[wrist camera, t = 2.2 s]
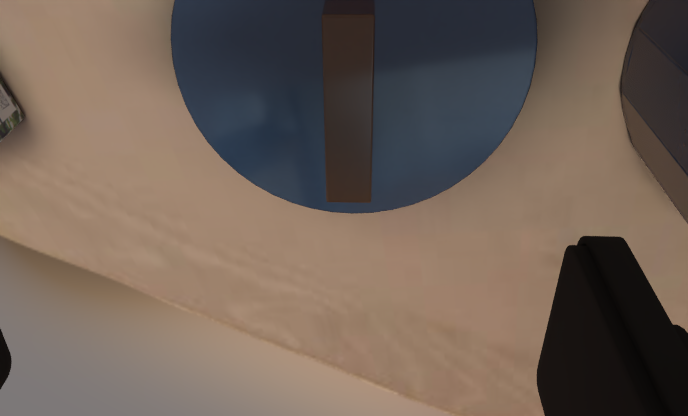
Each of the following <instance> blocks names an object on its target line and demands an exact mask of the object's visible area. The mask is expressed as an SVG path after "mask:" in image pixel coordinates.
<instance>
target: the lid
mask: <svg viewBox="0 0 688 416" xmlns="http://www.w3.org/2000/svg"><path fill="white" fill-rule="evenodd" d="M171 48H172V58H173V65H174V69H175V74H176V78H177V82H178V86H179V88H180V91H181V94H182V97H183V99H184V102H185V105H186V107H187V109H188V111H189V113H190V114H191V116H192V118H193V120H194V122H195V124H196V126H197V127H198V129H199V130H200V131H201V133H202V134H203V136H204V137H205V139H206V140H207V142H208V143H209V144H210V145H211V146H212V148H213V149H214V150H215V151H216V152H217V153H218V154H219V155H220V157H221V158H222V159H223V160H224V161H226V162H227V163H228V164H229V165H230V166H231V167H232V168H233V169H234V170H236V171H237V172H238V173H239V174H241V175H242V176H243V177H245V178H246V179H248V180H249V181H250V182H252V183H253V184H255V185H256V186H258V187H260V188H262V189H264V190H265V191H267V192H269V193H271V194H273V195H275V196H277V197H280V198H282V199H285V200H287V201H289V202H292V203H295V204H298V205H302V206H305V207H309V208H312V209H318V210H323V211H329V212H339V213H373V212H380V211H387V210H393V209H397V208H401V207H405V206H409V205H412V204H415V203H418V202H420V201H423V200H426V199H428V198H431V197H433V196H435V195H437V194H439V193H441V192H443V191H445V190H447V189H448V188H450V187H452V186H453V185H455V184H456V183H458V182H459V181H461V180H462V179H464V178H465V177H467V176H468V175H469V174H471V173H472V172H473V171H474V170H475V169H476V168H477V167H479V166H480V165H481V164H482V163H483V162H484V161H485V160H486V159H487V158H488V157H489V156H490V155H491V154H492V153H493V152H494V150H495V149H496V148H497V147H498V146H499V145H500V143H501V142H502V140H503V139H504V138H505V136H506V135H507V133H508V132H509V131H510V129H511V128H512V126H513V124H514V122H515V120H516V118H517V117H518V115H519V113H520V111H521V109H522V107H523V104H524V102H525V99H526V96H527V94H528V91H529V88H530V85H531V81H532V76H533V72H534V68H535V62H536V52H537V18H536V12H535V7H534V2H533V0H175V1H174V6H173V12H172V21H171Z"/></svg>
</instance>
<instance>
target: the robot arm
mask: <svg viewBox="0 0 688 416" xmlns="http://www.w3.org/2000/svg"><path fill="white" fill-rule="evenodd" d="M10 369H11V355H10V352H9V349H8V347H7V344H6V342H5V339H4V337H3V334H2V332H1V329H0V389H1V387H2V386H3V384H4V382H5V381H6V379H7V377H8V375H9V372H10ZM537 387H538V392H539V396H540V399H541V403H542V407H543V410H544V414H545V416H688V333H687V332H686V331H685V329H684V328H682V327H680V326H678V325H673V324H672V323H671V321H670V319H669V317H668V316H667V314H666V312H665V310H664V308H663V307H662V305H661V303H660V301H659V300H658V298H657V296H656V294H655V292H654V291H653V289H652V287H651V285H650V284H649V282H648V280H647V278H646V276H645V275H644V273H643V271H642V269H641V267H640V266H639V264H638V262H637V260H636V259H635V257H634V255H633V253H632V251H631V250H630V248H629V246H628V244H627V243H626V241H625V240H624V239H623V238H621V237H604V236H583V237H581V238H580V240H579V241H578V244H577V245H569V246H568V247H567V248H566V251H565V254H564V258H563V262H562V266H561V271H560V275H559V279H558V283H557V287H556V292H555V296H554V300H553V304H552V309H551V313H550V317H549V321H548V325H547V330H546V334H545V338H544V342H543V347H542V351H541V355H540V359H539V364H538V368H537Z"/></svg>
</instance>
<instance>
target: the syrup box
mask: <svg viewBox="0 0 688 416" xmlns="http://www.w3.org/2000/svg"><path fill="white" fill-rule="evenodd" d="M23 118H24V115H23V114H22V112H21V110H20V108H19V107H18V105H17V104H16V102H15V100H14V99H13V97H12V96H11V94H10V93H9V91H8V90H7V88H6V86H5V84H4V83H3V81H2V80H1V78H0V142H1V141H2V140H3V139H4V138H5V137H6V136H7V135H8V134H9V133H10V132H11V131H12V130H13V129H14V128H15V127H16V126H17V125H18V124H19V123H20V122H21V121H22V120H23Z"/></svg>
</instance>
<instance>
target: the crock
mask: <svg viewBox="0 0 688 416" xmlns="http://www.w3.org/2000/svg"><path fill="white" fill-rule="evenodd" d="M621 97H622V106H623V114H624V117H625V121H626V124H627V128H628V131H629V133H630V135H631V140H632V144H633V146H634V148H635V149H636V151H637V152H638V154H639V155H640V156H641V158H642V159H643V161H644V162H645V164H646V165H647V166H648V168H649V169H650V171H651V172H652V174H653V175H654V176H655V178H656V179H657V181H658V182H659V184H660V185H661V186H662V188H663V189H664V191H665V192H666V194H667V195H668V196H669V198H670V199H671V201H672V202H673V204H674V205H675V206H676V208H677V209H678V211H679V212H680V214H681V215H682V216H683V218H684V219H685V221H686V222H687V224H688V0H650V1H649V3H648V4H647V6H646V8H645V9H644V11H643V13H642V15H641V17H640V19H639V21H638V24H637V26H636V28H635V30H634V32H633V35H632V38H631V41H630V44H629V47H628V50H627V53H626V57H625V63H624V68H623V74H622V92H621Z"/></svg>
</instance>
